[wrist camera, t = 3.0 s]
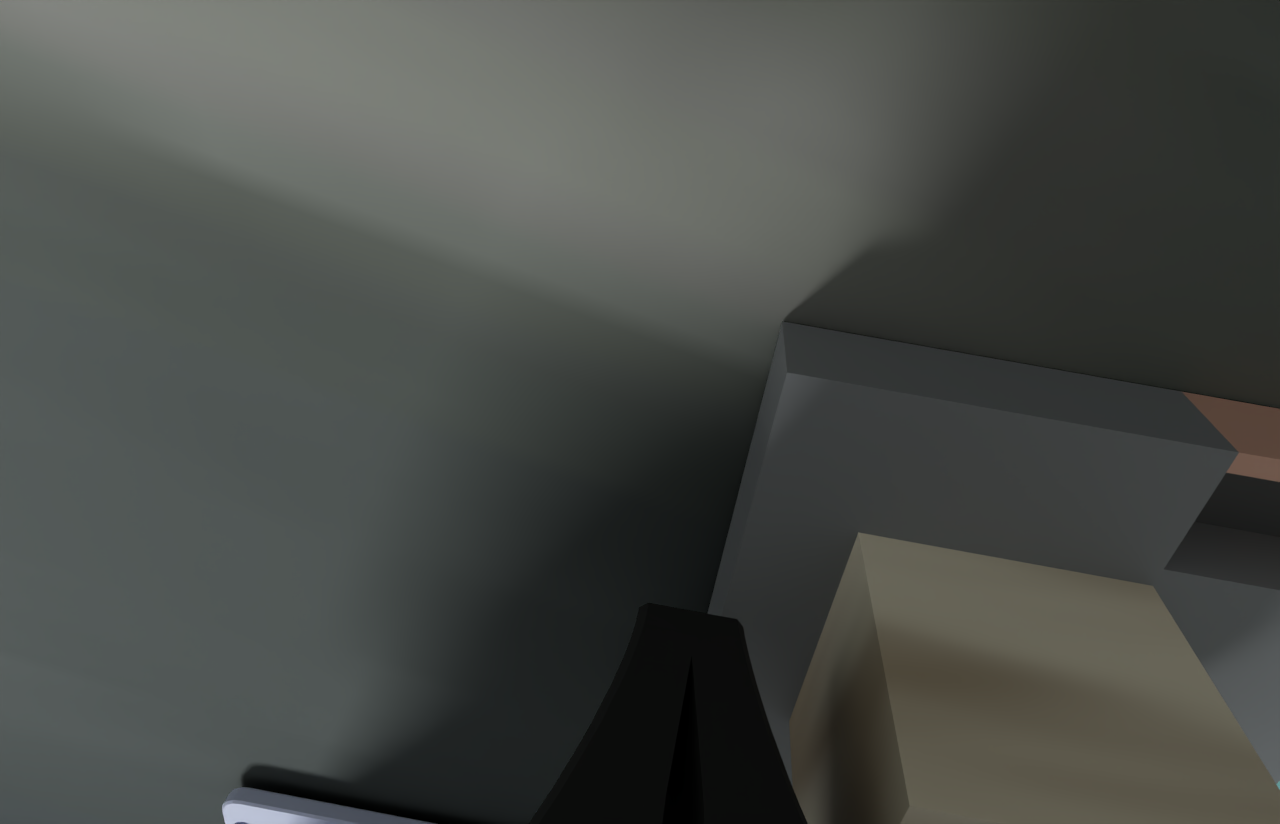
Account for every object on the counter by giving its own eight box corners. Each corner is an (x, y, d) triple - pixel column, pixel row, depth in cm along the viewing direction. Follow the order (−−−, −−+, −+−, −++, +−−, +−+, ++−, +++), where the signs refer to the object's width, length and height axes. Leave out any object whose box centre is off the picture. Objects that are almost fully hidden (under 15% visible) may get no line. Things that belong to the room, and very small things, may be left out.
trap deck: (681, 714, 15) (663, 936, 12) (782, 321, 11) (798, 494, 8) (1430, 856, 15) (1630, 1124, 12) (1839, 507, 11) (2350, 775, 7)
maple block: (1035, 767, 13) (1139, 1068, 10) (789, 721, 13) (804, 1003, 10) (1152, 585, 11) (1340, 887, 7) (858, 532, 11) (909, 806, 8)
